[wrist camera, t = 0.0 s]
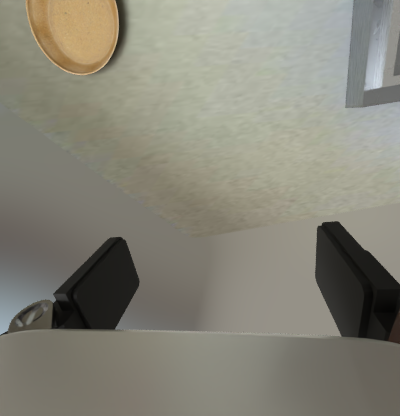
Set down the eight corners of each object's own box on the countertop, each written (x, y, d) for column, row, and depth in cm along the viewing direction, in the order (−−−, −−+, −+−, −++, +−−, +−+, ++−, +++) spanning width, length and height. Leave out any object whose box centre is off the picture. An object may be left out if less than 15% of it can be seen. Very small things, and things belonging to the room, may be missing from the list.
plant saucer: (44, 67, 38) (31, 65, 36) (33, -49, 32) (17, -62, 30) (124, 85, 38) (117, 83, 35) (129, -31, 31) (120, -43, 29)
